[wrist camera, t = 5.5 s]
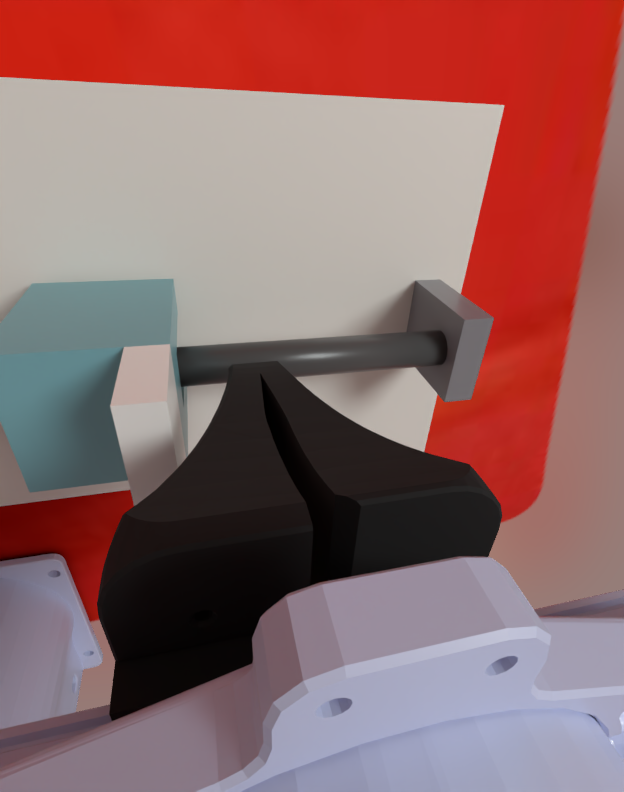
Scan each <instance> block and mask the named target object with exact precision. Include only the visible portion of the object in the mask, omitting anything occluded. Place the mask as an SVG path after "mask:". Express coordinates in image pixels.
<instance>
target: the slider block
mask: <svg viewBox="0 0 624 792" xmlns="http://www.w3.org/2000/svg"><path fill="white" fill-rule="evenodd" d="M177 316H178V311H177V303H176V295H175V287H174V279H148V280H118V281H88V282H58V283H32V284H31V286H30V287H29V288H28V289H27V291H26V292H25V293H24V294H23V296H22V297H21V298H20V299H19V301H18V302H17V303H16V304H15V306H14V307H13V308H12V309H11V311H10V312H9V313H8V314H7V315H6V317H5V318H4V319H3V320H2V322H1V323H0V422H1V424H2V427H3V429H4V432H5V434H6V436H7V439H8V441H9V444H10V446H11V449H12V451H13V453H14V456H15V458H16V461H17V463H18V465H19V468H20V470H21V473H22V475H23V478H24V480H25V482H26V485H27V487H28V490H29V492H30V493H31V492H39V491H47V490H55V489H63V488H71V487H79V486H88V485H96V484H104V483H112V482H120V481H128V482H129V486H130V490H131V494H132V498H133V502H134V506H135V505H137V504H138V503H139V502H141V501H142V500H143V499H145V498H146V497H147V496H148V495H150V494H151V493H152V492H154V491H155V490H156V489H157V488H158V487H159V486H160V485H161V484H162V483H163V482H164V481H165V480H166V479H167V478H168V477H169V476H170V475H171V474H172V473H173V472H174V471H175V470H176V469H177V468H178V467H179V466H180V465H181V464H182V462H183V461H184V460H185V459H186V458H187V456H188V411H187V387H181V383H180V376H179V369H178V361H177Z"/></svg>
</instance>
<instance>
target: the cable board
mask: <svg viewBox="0 0 624 792" xmlns="http://www.w3.org/2000/svg"><path fill="white" fill-rule="evenodd" d="M503 109H504V105H492V104H474V103H456V102H438V101H420V100H402V99H384V98H366V97H348V96H330V95H312V94H294V93H275V92H257V91H239V90H221V89H203V88H185V87H167V86H149V85H131V84H113V83H95V82H77V81H59V80H41V79H23V78H5V77H0V323H1V322H2V320H3V319H4V318H5V317H6V315H7V314H8V313H9V312H10V311H11V309H12V308H13V307H14V306H15V304H16V303H17V302H18V301H19V299H20V298H21V297H22V296H23V294H24V293H25V292H26V291H27V289H28V288H29V287H30V286H31V284H32V283H58V282H88V281H118V280H148V279H174V287H175V295H176V303H177V311H178V316H177V361H178V369H179V376H180V383H181V387H187V411H188V455H189V454H190V452H191V451H192V450H193V449H194V447H195V446H196V445H197V443H198V442H199V440H200V439H201V437H202V436H203V434H204V433H205V431H206V429H207V428H208V426H209V424H210V422H211V420H212V418H213V416H214V414H215V412H216V410H217V408H218V406H219V404H220V401H221V399H222V396H223V393H224V391H225V388H226V384H227V380H228V374H229V373H228V368H229V367H230V366H231V365H232V364H244V363H257V362H270V361H278V362H279V363H280V364H281V365H282V366H284V367H285V368H286V369H287V370H288V371H289V372H290V373H291V374H292V375H293V376H294V377H295V378H296V379H297V380H298V381H299V382H301V383H302V384H303V385H304V386H305V387H306V388H307V389H308V390H310V391H311V392H312V393H313V394H314V395H316V396H317V397H318V398H320V399H321V400H322V401H323V402H325V403H326V404H328V405H329V406H330V407H332V408H333V409H335V410H336V411H338V412H339V413H341V414H342V415H344V416H345V417H347V418H349V419H351V420H352V421H354V422H356V423H357V424H359V425H361V426H363V427H365V428H367V429H369V430H371V431H373V432H375V433H377V434H379V435H381V436H383V437H386V438H388V439H390V440H392V441H395V442H397V443H400V444H403V445H405V446H408V447H411V448H414V449H417V450H419V451H422V452H424V450H425V445H426V441H427V437H428V432H429V428H430V424H431V419H432V415H433V411H434V406H435V402H436V398H437V394H438V395H439V396H440V397H441V398H442V400H443V401H444V402H450V401H459V400H469V399H471V398H472V394H473V390H474V387H475V383H476V380H477V376H478V373H479V369H480V366H481V362H482V359H483V355H484V352H485V348H486V344H487V341H488V337H489V334H490V330H491V327H492V323H493V320H494V318H493V317H492V316H490V315H489V314H488V313H486V312H485V311H483V310H482V309H481V308H479V307H478V306H476V305H475V304H474V303H472V302H471V301H469V300H468V299H467V298H465V297H464V296H462V295H461V290H462V286H463V281H464V277H465V273H466V269H467V264H468V260H469V256H470V251H471V247H472V243H473V238H474V234H475V230H476V225H477V221H478V217H479V212H480V208H481V204H482V200H483V195H484V191H485V187H486V182H487V178H488V174H489V169H490V165H491V161H492V156H493V152H494V148H495V143H496V139H497V135H498V131H499V126H500V122H501V118H502V113H503ZM124 490H130V486H129V482H128V481H120V482H112V483H104V484H96V485H88V486H79V487H71V488H63V489H55V490H47V491H39V492H31V493H30V492H29V490H28V487H27V485H26V482H25V480H24V478H23V475H22V473H21V470H20V468H19V465H18V463H17V461H16V458H15V456H14V453H13V451H12V449H11V446H10V444H9V441H8V439H7V436H6V434H5V432H4V429H3V427H2V424H1V422H0V506H7V505H15V504H23V503H30V502H38V501H46V500H54V499H61V498H69V497H77V496H85V495H93V494H100V493H108V492H116V491H124Z"/></svg>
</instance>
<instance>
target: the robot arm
mask: <svg viewBox="0 0 624 792" xmlns="http://www.w3.org/2000/svg"><path fill="white" fill-rule="evenodd" d="M228 373H229V374H228V380H227V384H226V388H225V391H224V393H223V396H222V399H221V401H220V404H219V406H218V408H217V410H216V412H215V414H214V416H213V418H212V420H211V422H210V424H209V426H208V428H207V429H206V431H205V433H204V434H203V436H202V437H201V439H200V440H199V442H198V443H197V445H196V446H195V447H194V449H193V450H192V451H191V452H190V454H189V455H188V456H187V458H186V459H185V460H184V461H183V462H182V464H181V465H180V466H179V467H178V468H177V469H176V470H175V471H174V472H173V473H172V474H171V475H170V476H169V477H168V478H167V479H166V480H165V481H164V482H163V483H162V484H161V485H160V486H159V487H158V488H157V489H156V490H155V491H154V492H152V493H151V494H150V495H148V496H147V497H146V498H145V499H143V500H142V501H141V502H139V503H138V504H137V505H135V506H134V507H133V508H132V509H130V510H129V511H127V512H126V513H125V514H124V515H123V516H122V518H121V520H120V523H119V525H118V527H117V530H116V532H115V535H114V537H113V540H112V543H111V545H110V548H109V551H108V554H107V558H106V561H105V564H104V568H103V572H102V578H101V584H100V590H99V595H98V601H97V607H98V615H99V619H100V622H101V624H102V627H103V630H104V632H105V635H106V637H107V640H108V643H109V645H110V648H111V651H112V653H113V656H114V658H115V660H116V661H115V669H114V678H113V686H112V694H111V702H110V705H106V706H102V707H97V708H93V709H88V710H84V711H79V712H76V707H77V701H78V695H79V689H80V684H81V678H82V672H83V669H87V668H92V667H96V666H98V665H100V664H101V663H102V658H103V654H102V651H101V649H100V646H99V644H98V641H97V639H96V636H95V634H94V631H93V629H92V626H91V624H90V621H89V619H88V616H87V614H86V611H85V609H84V606H83V604H82V601H81V599H80V596H79V593H78V591H77V588H76V586H75V583H74V581H73V578H72V576H71V573H70V571H69V568H68V566H67V563H66V561H65V559H64V557H63V556H61V555H59V554H45V555H39V556H32V557H25V558H19V559H12V560H6V561H0V792H624V589H623V590H618V591H614V592H609V593H605V594H600V595H596V596H592V597H587V598H583V599H578V600H574V601H569V602H565V603H561V604H556V605H551V606H547V607H543V608H538V609H533V608H532V606H531V605H530V603H529V602H528V600H527V599H526V597H525V596H524V594H523V593H522V591H521V590H520V589H519V587H518V586H517V584H516V583H515V581H514V580H513V578H512V577H511V575H510V574H509V572H508V571H507V569H506V568H505V567H503V566H502V565H501V564H499V563H498V562H497V561H495V560H494V559H492V558H490V557H488V556H489V553H490V551H491V548H492V545H493V543H494V540H495V538H496V535H497V533H498V530H499V527H500V523H501V518H502V512H501V505H500V503H499V502H498V500H497V499H496V497H495V496H494V495H493V493H492V492H491V490H490V489H489V488H488V486H487V485H486V484H485V482H484V481H483V480H482V479H481V477H480V476H479V475H478V474H477V473H476V471H475V470H474V469H473V468H472V467H471V466H470V465H469V464H466V463H462V462H458V461H455V460H451V459H447V458H443V457H439V456H435V455H432V454H428V453H425V452H422V451H419V450H417V449H414V448H411V447H408V446H405V445H403V444H400V443H397V442H395V441H392V440H390V439H388V438H386V437H383V436H381V435H379V434H377V433H375V432H373V431H371V430H369V429H367V428H365V427H363V426H361V425H359V424H357V423H356V422H354V421H352V420H351V419H349V418H347V417H345V416H344V415H342V414H341V413H339V412H338V411H336V410H335V409H333V408H332V407H330V406H329V405H328V404H326V403H325V402H323V401H322V400H321V399H320V398H318V397H317V396H316V395H314V394H313V393H312V392H311V391H310V390H308V389H307V388H306V387H305V386H304V385H303V384H302V383H301V382H299V381H298V380H297V379H296V378H295V377H294V376H293V375H292V374H291V373H290V372H289V371H288V370H287V369H286V368H285V367H284V366H282V365H281V364H280V363H279V362H278V361H270V362H257V363H244V364H232V365H231V366H230V367H229V368H228Z"/></svg>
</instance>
